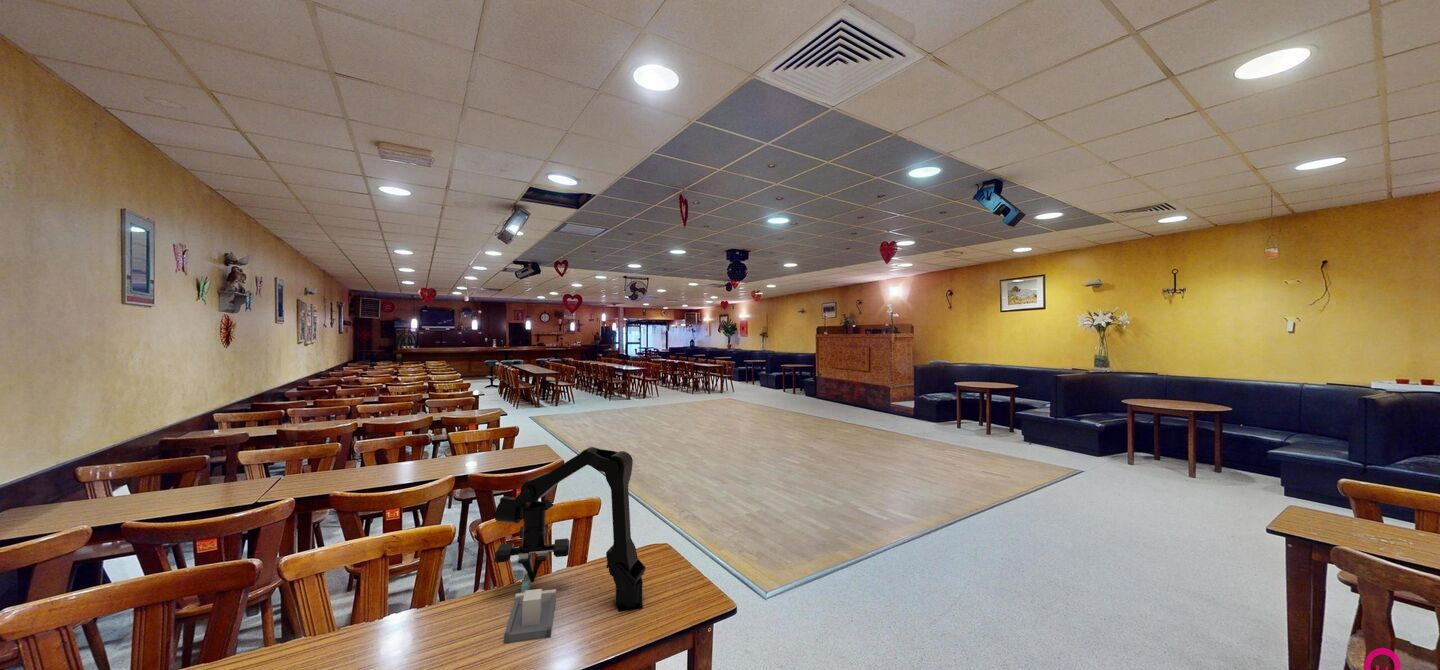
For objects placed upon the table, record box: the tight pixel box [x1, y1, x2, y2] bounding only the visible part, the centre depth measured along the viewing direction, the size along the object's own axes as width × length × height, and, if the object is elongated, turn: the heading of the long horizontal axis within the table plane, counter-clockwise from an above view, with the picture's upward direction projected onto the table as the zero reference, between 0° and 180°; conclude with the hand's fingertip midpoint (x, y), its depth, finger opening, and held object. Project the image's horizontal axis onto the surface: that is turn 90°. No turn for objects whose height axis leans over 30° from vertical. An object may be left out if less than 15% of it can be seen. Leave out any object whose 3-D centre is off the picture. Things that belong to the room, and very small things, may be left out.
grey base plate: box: [503, 593, 557, 645], centre depth 115 cm, size 10×16×2 cm, turn 15°
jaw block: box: [522, 588, 543, 626], centre depth 115 cm, size 4×5×6 cm
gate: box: [514, 573, 557, 604], centre depth 127 cm, size 10×8×4 cm
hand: (532, 581), depth 128 cm, fingers closed
